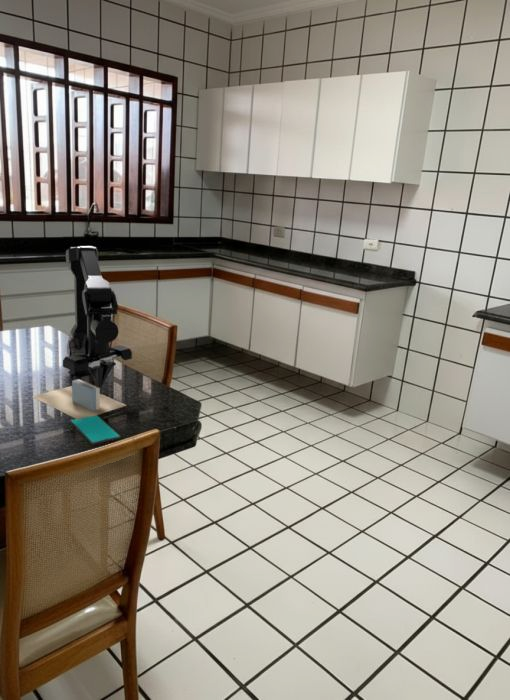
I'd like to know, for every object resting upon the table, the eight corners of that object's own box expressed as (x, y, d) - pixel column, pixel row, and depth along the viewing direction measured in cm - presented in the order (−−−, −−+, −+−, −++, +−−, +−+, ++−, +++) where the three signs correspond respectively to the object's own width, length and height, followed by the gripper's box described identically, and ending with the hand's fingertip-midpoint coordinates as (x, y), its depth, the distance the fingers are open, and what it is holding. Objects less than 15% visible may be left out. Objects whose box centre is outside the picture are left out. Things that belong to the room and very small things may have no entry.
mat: (78, 385, 160) (78, 384, 160) (126, 406, 147) (126, 405, 147) (31, 397, 148) (31, 396, 148) (79, 422, 136) (79, 420, 136)
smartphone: (96, 414, 140) (121, 436, 129) (96, 417, 140) (121, 439, 129) (68, 419, 136) (91, 443, 124) (68, 422, 136) (91, 446, 125)
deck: (79, 399, 149) (79, 379, 147) (99, 408, 143) (99, 387, 142) (72, 401, 147) (72, 380, 145) (92, 411, 142) (92, 389, 140)
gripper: (108, 321, 154) (108, 373, 159) (49, 331, 140) (51, 387, 144) (133, 329, 148) (133, 382, 152) (75, 340, 134) (76, 399, 138)
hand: (99, 387), depth 147 cm, fingers closed
